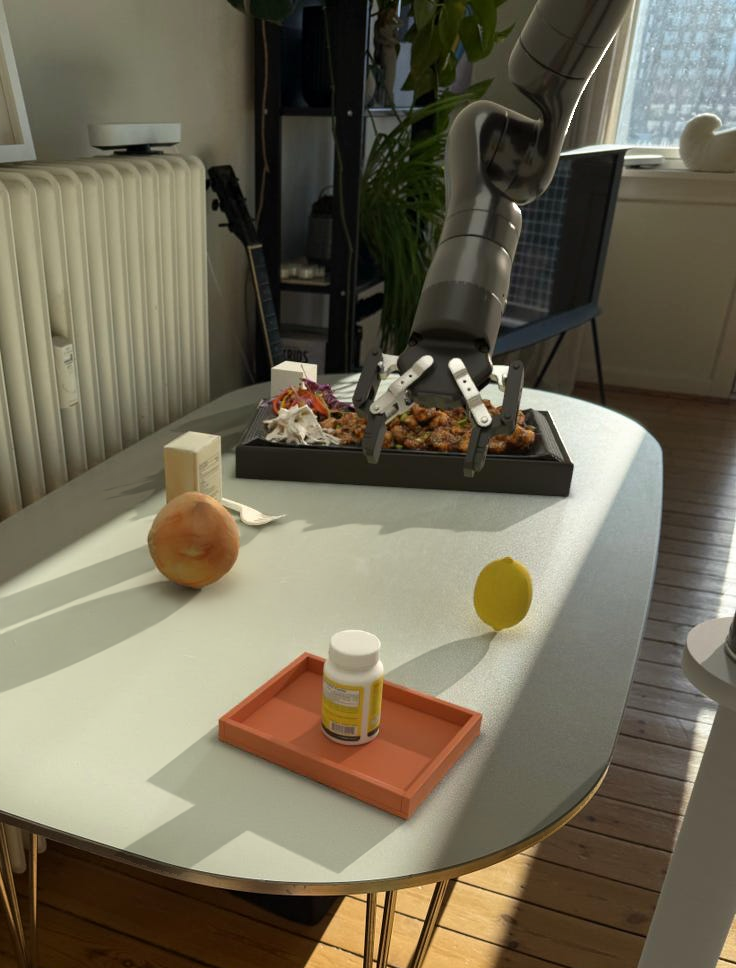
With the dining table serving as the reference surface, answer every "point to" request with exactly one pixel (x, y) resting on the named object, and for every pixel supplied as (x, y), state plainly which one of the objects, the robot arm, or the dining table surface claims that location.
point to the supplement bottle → (352, 688)
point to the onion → (194, 540)
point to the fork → (249, 513)
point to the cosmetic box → (193, 465)
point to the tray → (353, 768)
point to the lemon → (503, 593)
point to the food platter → (397, 447)
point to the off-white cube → (291, 376)
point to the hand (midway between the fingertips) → (418, 466)
